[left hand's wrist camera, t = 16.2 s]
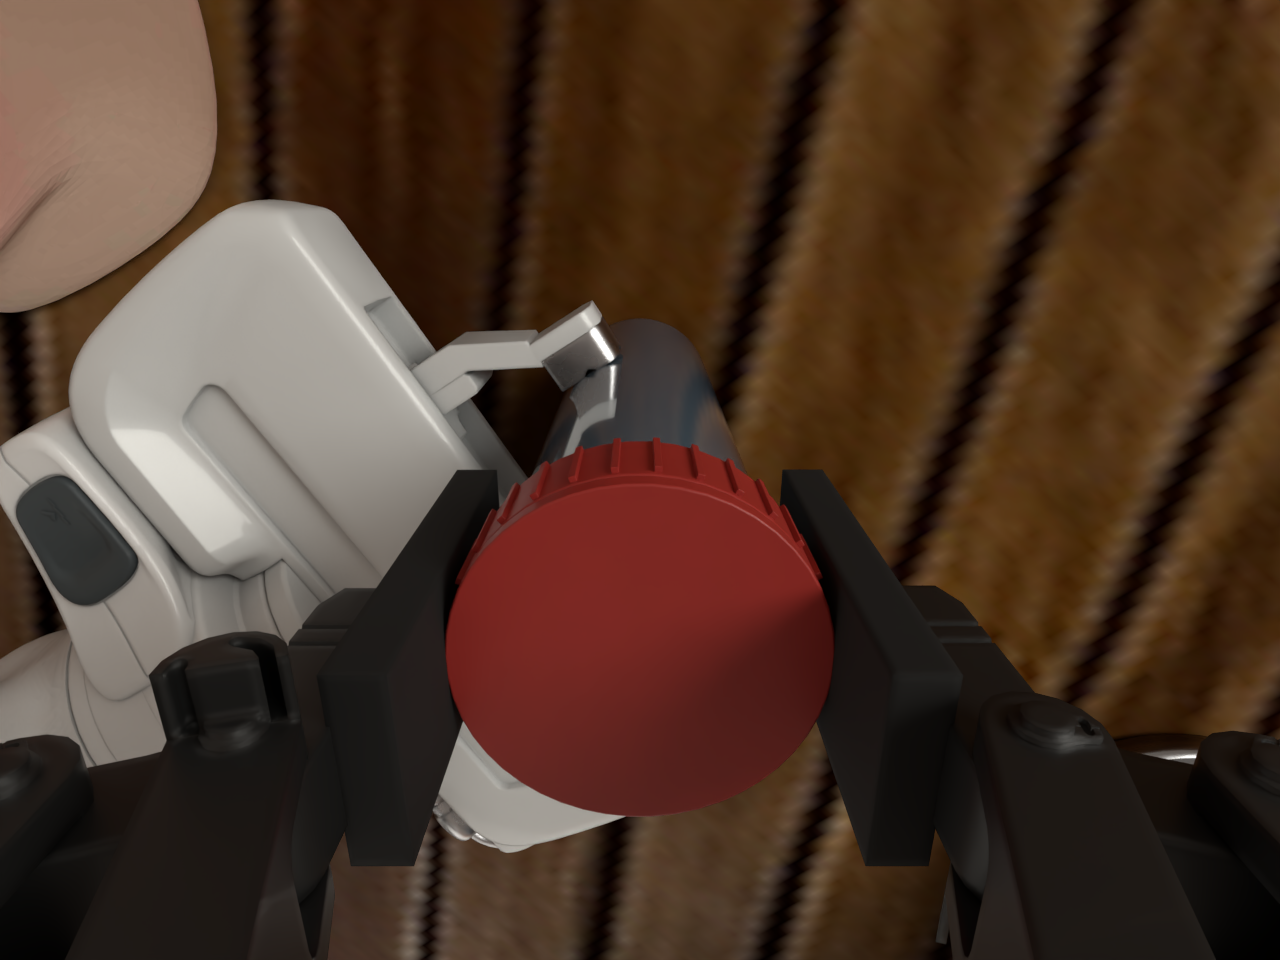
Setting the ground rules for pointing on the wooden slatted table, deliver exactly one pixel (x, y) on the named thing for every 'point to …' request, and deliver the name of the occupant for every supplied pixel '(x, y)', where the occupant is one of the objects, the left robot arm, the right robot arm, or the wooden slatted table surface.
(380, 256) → the wooden slatted table surface
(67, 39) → the anatomical model
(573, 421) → the blue grey capped cylinder
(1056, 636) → the wooden slatted table surface
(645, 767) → the lid
